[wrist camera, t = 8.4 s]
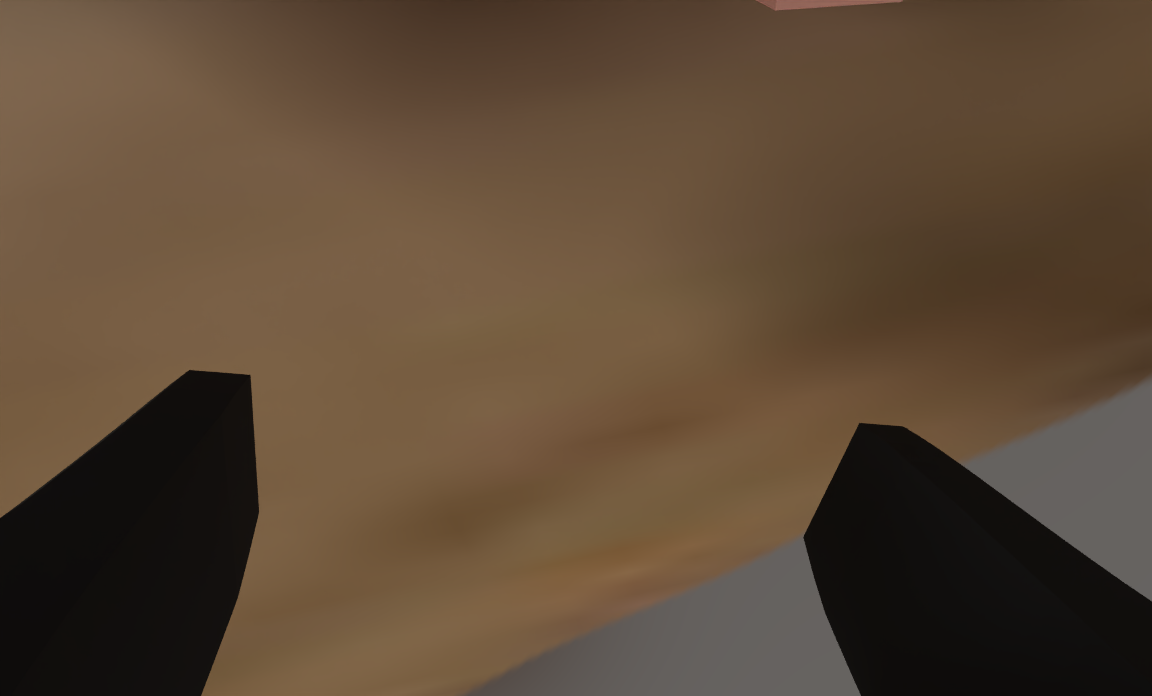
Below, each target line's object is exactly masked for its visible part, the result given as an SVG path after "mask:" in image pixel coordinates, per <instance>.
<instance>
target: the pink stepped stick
mask: <svg viewBox="0 0 1152 696" xmlns="http://www.w3.org/2000/svg"><path fill="white" fill-rule="evenodd" d="M756 1H758V2H760V3H762V4H764V5H766V6H768V7H770V8H771V9H773V10H790V9H804V8H819V7H833V6H847V5H862V4H876V3H891V2H902V0H756Z"/></svg>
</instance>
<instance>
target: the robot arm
mask: <svg viewBox="0 0 1152 696" xmlns="http://www.w3.org/2000/svg"><path fill="white" fill-rule="evenodd" d="M258 514H259V504H258V488H257V472H256V456H255V440H254V424H253V408H252V393H251V377H250V375H245V374H232V373H220V372H207V371H194V370H189V371H187V372H186V373H185V374H184V375H182V376H181V377H180V378H178V379H177V380H176V381H174V382H173V383H172V384H170V385H169V386H168V387H167V388H165V389H164V390H163V391H162V392H160V393H159V394H158V395H157V396H155V397H154V398H153V399H152V400H150V401H149V402H148V403H147V404H145V405H144V406H143V407H142V408H141V409H139V410H138V411H137V412H136V413H134V414H133V415H132V416H131V417H129V418H128V419H127V420H126V421H125V422H123V423H122V424H121V425H120V426H118V427H117V428H116V429H115V430H113V431H112V432H111V433H110V434H108V435H107V436H106V437H105V438H103V439H102V440H101V441H100V442H98V443H97V444H96V445H95V446H93V447H92V448H91V449H90V450H88V451H87V452H86V453H85V454H83V455H82V456H81V457H80V458H78V459H77V460H76V461H74V462H73V463H72V464H70V465H69V466H68V467H67V468H65V469H64V470H63V471H61V472H60V473H59V474H58V475H56V476H55V477H54V478H52V479H51V480H50V481H48V482H47V483H46V484H45V485H43V486H42V487H41V488H39V489H38V490H37V491H35V492H34V493H33V494H32V495H30V496H29V497H28V498H26V499H25V500H24V501H22V502H21V503H20V504H19V505H17V506H16V507H15V508H13V509H12V510H11V511H9V512H8V513H6V514H5V515H4V516H2V517H1V518H0V696H201V694H202V692H203V689H204V686H205V684H206V681H207V679H208V676H209V673H210V671H211V668H212V665H213V663H214V660H215V657H216V655H217V652H218V649H219V647H220V644H221V641H222V639H223V636H224V633H225V631H226V628H227V626H228V623H229V620H230V617H231V615H232V612H233V609H234V607H235V604H236V601H237V598H238V595H239V591H240V587H241V583H242V579H243V576H244V572H245V568H246V564H247V560H248V556H249V552H250V548H251V544H252V539H253V535H254V531H255V527H256V523H257V519H258ZM803 538H804V541H805V545H806V548H807V553H808V556H809V560H810V564H811V568H812V571H813V575H814V579H815V582H816V585H817V588H818V591H819V595H820V598H821V601H822V604H823V607H824V610H825V613H826V616H827V618H828V620H829V623H830V625H831V628H832V630H833V633H834V635H835V637H836V640H837V642H838V644H839V646H840V648H841V651H842V653H843V656H844V658H845V660H846V663H847V665H848V667H849V669H850V672H851V674H852V676H853V679H854V681H855V683H856V685H857V688H858V690H859V692H860V694H861V696H1152V601H1150V600H1149V599H1147V598H1146V597H1144V596H1143V595H1141V594H1140V593H1138V592H1137V591H1136V590H1134V589H1132V588H1131V587H1129V586H1128V585H1127V584H1125V583H1124V582H1122V581H1121V580H1120V579H1118V578H1117V577H1115V576H1114V575H1112V574H1111V573H1110V572H1108V571H1107V570H1105V569H1104V568H1103V567H1101V566H1100V565H1098V564H1097V563H1095V562H1094V561H1093V560H1091V559H1090V558H1088V557H1087V556H1086V555H1084V554H1083V553H1081V552H1080V551H1079V550H1077V549H1076V548H1074V547H1073V546H1072V545H1070V544H1069V543H1067V542H1066V541H1065V540H1063V539H1062V538H1061V537H1059V536H1058V535H1057V534H1055V533H1054V532H1052V531H1051V530H1050V529H1048V528H1047V527H1045V526H1044V525H1043V524H1041V523H1040V522H1039V521H1037V520H1036V519H1035V518H1033V517H1032V516H1030V515H1029V514H1028V513H1026V512H1025V511H1024V510H1022V509H1021V508H1020V507H1018V506H1017V505H1015V504H1014V503H1012V502H1011V501H1010V500H1009V499H1007V498H1006V497H1005V496H1003V495H1002V494H1001V493H999V492H998V491H996V490H995V489H994V488H992V487H991V486H990V485H988V484H987V483H986V482H984V481H983V480H981V479H980V478H979V477H977V476H976V475H975V474H973V473H972V472H970V471H969V470H967V469H966V468H965V467H964V466H962V465H961V464H959V463H958V462H956V461H955V460H954V459H952V458H951V457H949V456H948V455H947V454H945V453H944V452H942V451H941V450H939V449H938V448H936V447H935V446H933V445H932V444H930V443H929V442H927V441H926V440H924V439H923V438H921V437H920V436H918V435H916V434H915V433H913V432H911V431H910V430H908V429H907V428H905V427H903V426H891V425H878V424H866V423H859V425H858V427H857V429H856V431H855V433H854V435H853V437H852V439H851V441H850V443H849V445H848V447H847V449H846V452H845V454H844V456H843V458H842V460H841V462H840V464H839V466H838V468H837V470H836V472H835V474H834V476H833V478H832V480H831V482H830V484H829V486H828V488H827V490H826V492H825V494H824V496H823V498H822V500H821V502H820V504H819V506H818V508H817V510H816V512H815V514H814V516H813V518H812V521H811V523H810V525H809V527H808V529H807V531H806V533H805V535H804V537H803Z"/></svg>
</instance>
